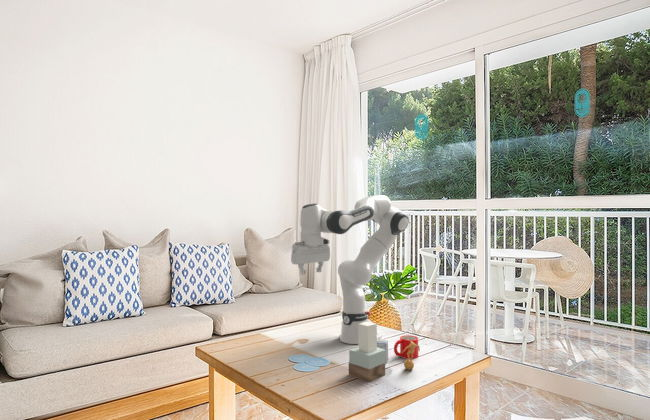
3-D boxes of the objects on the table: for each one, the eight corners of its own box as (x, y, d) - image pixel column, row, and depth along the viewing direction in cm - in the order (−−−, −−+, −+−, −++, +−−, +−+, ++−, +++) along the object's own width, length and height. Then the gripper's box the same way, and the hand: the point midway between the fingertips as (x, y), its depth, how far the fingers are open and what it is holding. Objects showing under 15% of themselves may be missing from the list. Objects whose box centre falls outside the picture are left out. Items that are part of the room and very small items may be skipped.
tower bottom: (365, 369, 171) (365, 356, 171) (385, 375, 164) (385, 362, 164) (348, 375, 164) (348, 362, 164) (368, 382, 157) (368, 369, 157)
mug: (389, 356, 186) (388, 338, 186) (410, 351, 192) (410, 334, 192) (400, 361, 179) (400, 342, 180) (422, 356, 185) (422, 338, 185)
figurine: (414, 366, 173) (414, 336, 173) (423, 371, 168) (423, 340, 168) (397, 369, 170) (397, 339, 170) (405, 374, 164) (405, 343, 165)
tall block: (367, 347, 168) (366, 321, 168) (376, 349, 164) (376, 323, 164) (358, 349, 164) (358, 323, 165) (368, 352, 161) (368, 326, 161)
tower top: (366, 356, 171) (365, 344, 171) (385, 362, 164) (385, 349, 164) (349, 362, 164) (349, 349, 164) (369, 369, 157) (369, 355, 157)
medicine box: (388, 360, 181) (388, 339, 181) (386, 363, 177) (386, 342, 177) (370, 358, 183) (370, 338, 184) (367, 361, 179) (367, 341, 179)
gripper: (297, 242, 174) (298, 276, 174) (332, 240, 188) (332, 271, 188) (287, 242, 178) (288, 275, 178) (322, 239, 193) (322, 270, 193)
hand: (311, 273), depth 183 cm, fingers open, 8 cm apart
